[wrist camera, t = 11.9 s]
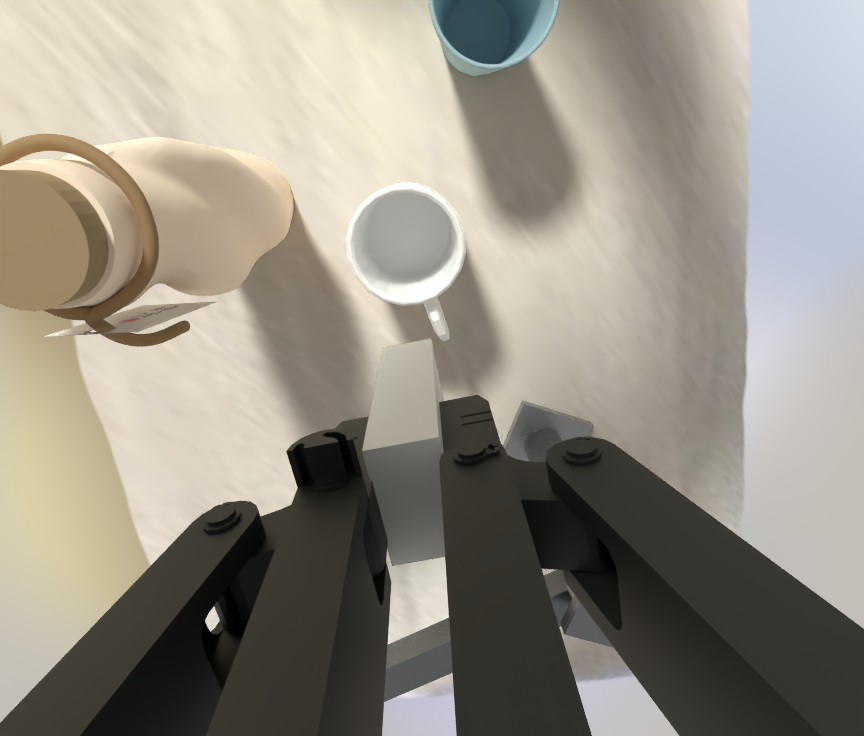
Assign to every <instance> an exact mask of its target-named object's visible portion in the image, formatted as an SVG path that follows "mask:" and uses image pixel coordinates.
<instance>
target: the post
mask: <svg viewBox="0 0 864 736" xmlns="http://www.w3.org/2000/svg"><path fill="white" fill-rule="evenodd" d="M592 428H593V425H592V423H591V422H588V421H585V420H582V419H579V418H575V417H572V416H569V415H566V414H563V413H560V412H557V411H553V410H550V409H547V408H544V407H541V406H538V405H535V404H532V403H528V402H525V401H522V403H521V405H520V407H519V410H518V412H517V414H516V417H515V419H514V421H513V424H512V426H511V428H510V431H509V433H508V435H507V438H506V440H505V442H504V445H503V447H504V448H505V450H506V453H507V454H508V455H509V456H511V457H513V458H515V459H518V460H523V461H532V462H546V454H547V451H548V450H549V449H550V448H551V447H552V446H554V445H555V444H557V443H559V442H562V441H564V440H568V439H573V438H575V437H588V436H589V434H590V432H591V430H592ZM560 622H561V625H562V628H563V631H564V634H565V635H569V636H573V637H577V638H580V639H584V640H588V641H592V642H595V643H599V644H603V645H607V646H610V647H613V646H612V644H611V643H610V642H609V640H608V639H607V638H606V636H605V635H604V634H603V632H602V631H601V629H600V628H599V627H598V625H597V624H596V623H595V621H594V620H593V619H592V617H591V616H590V615H589V613H588V612H587V611H586V609H585V608H584V607H583V605H582V604H581V603H580V601H579V600H578V599H577V597H576V596H575V595H574V596H573V598H572V600H571V602H570V604H569V606H568V608H567V610H566V612H565V614H564V616H563V618H562V620H561V621H560Z"/></svg>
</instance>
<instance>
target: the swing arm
mask: <svg viewBox="0 0 864 736" xmlns="http://www.w3.org/2000/svg"><path fill="white" fill-rule="evenodd" d="M544 579H545V582H546V585H547V589H548V592H549V595H550V599H551V602H552V605H553V609H554V612H555V615H556V619H557V622H558V625H559V627H561V626H562V625H561V622H560V621H561V620H562V618H563V616H564V614H565V612H566V610H567V608H568V606H569V604H570V602H571V600H572V598H573V596H574V595H575V594H574V593H573V592H572V590H571V589H570V588H569V586H568V585H567V584H566V582H565V580H564V578H563V576H562V573H561V570H556V571H553V572H551V573H549V574H547V575H544ZM451 673H453V669H452V654H451V638H450V623H449V618H447V619H445V620H443V621H440V622H438V623H436V624H434V625H431V626H429V627H427V628H425V629H422V630H420V631H418V632H416V633H413V634H411V635H409V636H407V637H404V638H402V639H400V640H398V641H395V642H393V643H391V644H388V645H387V659H386V676H385V692H384V702H385V701H387V700H390V699H392V698H394V697H397V696H399V695H401V694H404V693H406V692H408V691H411V690H413V689H415V688H418V687H420V686H422V685H425V684H427V683H429V682H432V681H434V680H437V679H439V678H441V677H444V676H446V675H448V674H451Z"/></svg>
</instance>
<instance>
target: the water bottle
mask: <svg viewBox="0 0 864 736" xmlns="http://www.w3.org/2000/svg"><path fill="white" fill-rule="evenodd" d="M40 151H62V152H67V153H70V154H68V155H66V156H65V157H63V158H61V159H36V160H25V161H18V162H14V161H16V160H18V159H20V158H22V157H24V156H26V155H29V154H32V153H35V152H40ZM293 211H294V203H293V196H292V192H291V189H290V186H289V184H288V182H287V181H286V179H285V177H284V176H283V175H282V173H281V172H280V171H279V170H278V169H277V168H276V167H275V166H274V165H273V164H271V163H270V162H269V161H267V160H265V159H263V158H261V157H259V156H256V155H253V154H249V153H245V152H242V151H238V150H233V149H228V148H218V147H210V146H207V145H203V144H199V143H193V142H186V141H181V140H177V139H172V138H164V137H150V138H142V139H135V140H130V141H124V142H118V143H112V144H105V145H98V146H92V145H90V144H88V143H86V142H83V141H81V140H78V139H75V138H72V137H68V136H63V135H57V134H37V135H31V136H26V137H23V138H20V139H17V140H14V141H12V142H10V143H8V144H6V145H4V146H3V147H1V148H0V304H3V305H5V306H7V307H11V308H15V309H19V310H28V311H40V310H44V311H46V312H48V313H51V314H53V315H55V316H58V317H61V318H65V319H71V320H85V322H86V323H85V324H82V325H79V326H75V327H72V328H69V329H66V330H62V331H59V332H56V333H53V334H50V335H47V336H66V335H86V334H101V335H103V336H105V337H107V338H108V339H111V340H113V341H115V342H118V343H121V344H125V345H129V346H152V345H156V344H160V343H163V342H166V341H168V340H170V339H172V338H175V337H176V336H178V335H180V334H182V333H184V332H187V331H189V329H190V324H189V322H188V321H181V322H178V323H176V324H174V325H172V326H170V327H168V328H166V329H163V330H161V331H158V332H154V333H150V334H134V333H129V332H139V331H141V330H144V329H147V328H149V327H152V326H155V325H157V324H160V323H162V322H165V321H168V320H170V319H173V318H176V317H178V316H181V315H183V314H186V313H189V312H191V311H194V310H197V309H199V308H202V307H204V306H207V305H210V304H212V303H215V302H201V303H183V304H164V305H146V306H140V307H137V308H133V309H130V310H127V311H124V312H121V313H117V314H114V315H112V314H113V313H115V312H117V311H118V310H120V309H122V308H123V307H125V306H127V305H129V304H131V303H133V302H134V301H136V300H137V299H139V298H140V297H141V296H142V295H143V294H144V293H145V292H146V291H147V290H148V289H149V288H150V287H152V286H153V285H155V284H158V283H162V284H166V285H167V286H169V287H171V288H173V289H175V290H177V291H180V292H182V293H185V294H189V295H197V296H211V295H219V294H223V293H227V292H230V291H232V290H234V289H236V288H237V287H239V286H240V285H241V284H242V283H243V282H244V281H245V280H246V278H247V277H248V275H249V273H250V271H251V269H252V267H253V266H254V264H255V262H256V261H257V260H258V259H259V258H260V257H261V256H262V255H263V254H265V253H266V252H268V251H269V250H271V249H272V248H274V247H275V246H277V245H278V244H279V243H280V242H281V241H283V239H284V238H285V237H286V235H287V234H288V231H289V228H290V224H291V221H292V218H293ZM110 315H111V316H110ZM92 330H95V331H97V332H90V331H92ZM45 337H46V336H45Z"/></svg>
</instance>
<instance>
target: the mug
mask: <svg viewBox="0 0 864 736" xmlns="http://www.w3.org/2000/svg"><path fill="white" fill-rule="evenodd" d="M346 247H347V256H348V262H349V264H350V266H351V268H352V271H353V273H354V275H355V277H356V279H357V280H358V281H359V282H360V283H361V284H362V286H363V287H364V288H365V289H366V290H367V291H368V292H369V293H371V294H372V295H374V296H376V297H377V298H379V299H380V300H382V301H384V302H388V303H392V304H396V305H400V306H408V305H420V304H424V306H425V309H426V311H427V314H428V317H429V319H430V321H431V324H432V326H433V328H434V331H435V333H436V334H437V335H438V337H439V338H440V339H441V340H442V341H443V342H444V341H446V340H449V335H450V332H449V329H448V326H447V323H446V320H445V316H444V313H443V311H442V308H441V305H440V302H439V300H438V297H439V296H440V295H441V294H442V293H444V292H445V291H446V290H447V289H448V288H450V287H451V286H452V284H453V283H454V281H455V279H456V278H457V276H458V275H459V273H460V272H461V269H462V266H463V262H464V258H465V255H466V239H465V232H464V229H463V226H462V223H461V221H460V218H459V215H458V214H457V213H456V211H455V210H454V209H453V208H452V206H451V205H450V204H449V202H448V201H447V200H446V199H445V198H444V197H443V196H442V195H440V194H439V193H437V192H436V191H434V190H433V189H431V188H430V187H428V186H425V185H422V184H418V183H414V182H406V183H396V184H394V185H391V186H389V187H386V188H384V189H382V190H379V191H377V192H375V193H373V194H372V195H371V196H370V197H369V198H368V199H366V200H365V201H364V202H363V203H362V204H361V205H360V206H359V207H358V209H357V211H356V213H355V214H354V216H353V218H352V219H351V221H350V224H349V229H348V234H347V238H346Z"/></svg>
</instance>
